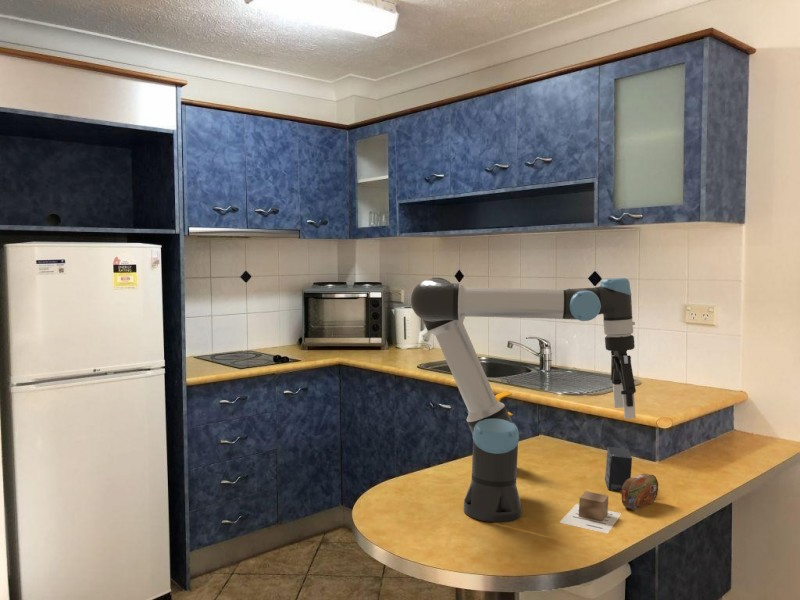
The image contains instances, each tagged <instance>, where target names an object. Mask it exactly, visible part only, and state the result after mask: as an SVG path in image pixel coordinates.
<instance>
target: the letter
mask: <svg viewBox="0 0 800 600" xmlns="http://www.w3.org/2000/svg"><path fill="white" fill-rule="evenodd" d="M621 515H622V513H621V512H616V511H612V510H608V514H607V516H606V517H605V518H604V520H603V521H597V520H593V519H588V518H584V517H580V516H579V503H575V504H574V506H573V507H572V508H571V509H570V510H569V511H568V512H567V513H566V514H565V516H563V518H561V520H560V521H559V523H561V524H565V525H568V526H574V527H576V528H577V527H578V528H582V529H586V530H591V531H595V532H597V533H602V534H606V535H607V534H609V533H610V531H611V530H612V528H613V526H615V524H616V522H617V521H618V519H619V518H620V516H621Z"/></svg>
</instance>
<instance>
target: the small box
mask: <svg viewBox="0 0 800 600" xmlns="http://www.w3.org/2000/svg"><path fill="white" fill-rule="evenodd" d="M632 464H633V457H632V456H631V453H630V452H629V449H628V448H623V447H622V448H621V447H613V446H607V447H606V461H605V474H604V475H605V476H604V481H605V485H606V487H607V490H608V491H616V492H622V487H623V484H624V482H625V481H626V480H627V479H629V478H632V466H633V465H632Z"/></svg>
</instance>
